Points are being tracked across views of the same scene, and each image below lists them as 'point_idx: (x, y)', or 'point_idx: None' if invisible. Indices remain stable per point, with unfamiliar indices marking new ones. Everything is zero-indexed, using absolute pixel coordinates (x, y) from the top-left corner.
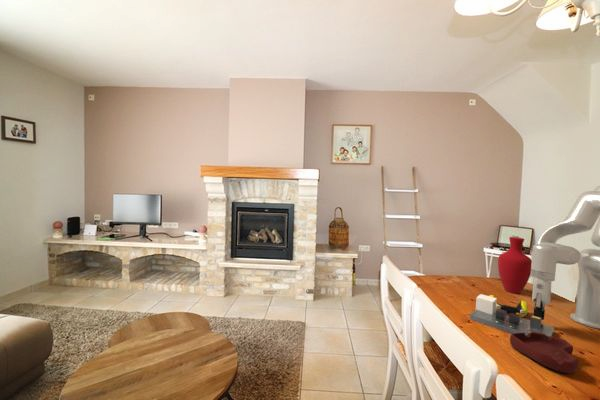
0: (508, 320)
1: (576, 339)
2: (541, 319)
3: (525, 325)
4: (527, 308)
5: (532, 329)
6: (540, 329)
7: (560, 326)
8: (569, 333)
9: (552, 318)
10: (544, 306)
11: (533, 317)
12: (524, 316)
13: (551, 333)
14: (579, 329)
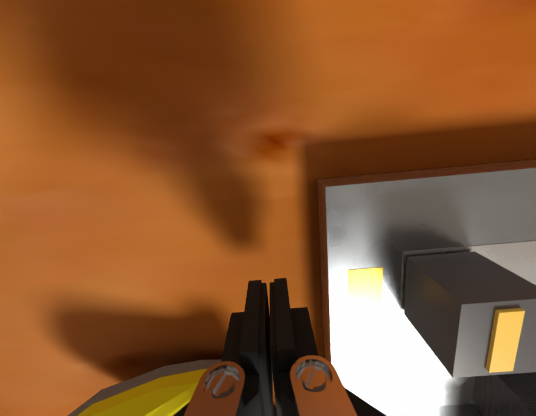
0: (476, 408)
1: (304, 35)
2: (476, 295)
3: None
4: (124, 406)
5: (531, 281)
6: (477, 246)
7: (128, 170)
8: (218, 97)
9: (11, 240)
10: (216, 402)
11: (523, 355)
12: (220, 361)
13: (499, 174)
14: (31, 55)
